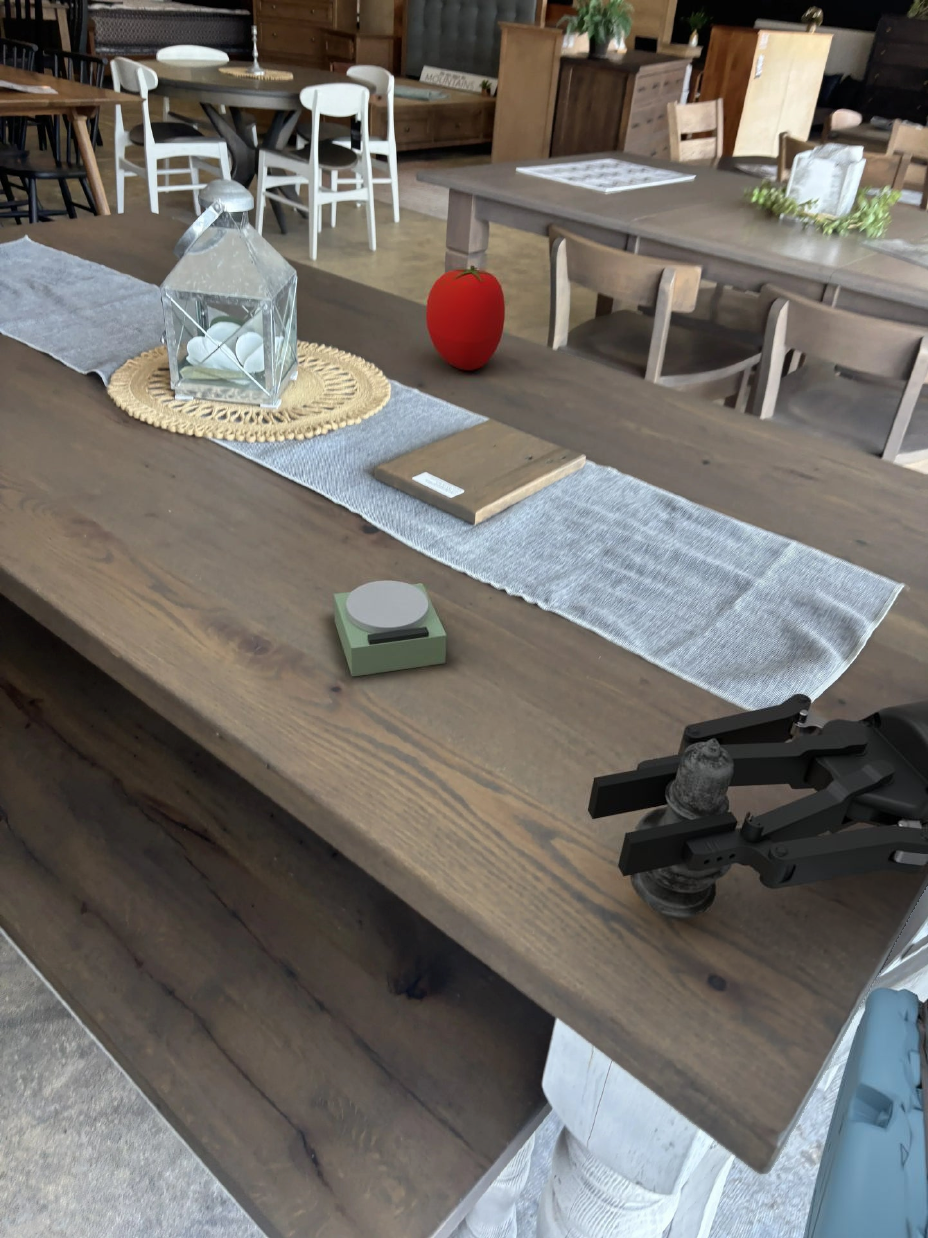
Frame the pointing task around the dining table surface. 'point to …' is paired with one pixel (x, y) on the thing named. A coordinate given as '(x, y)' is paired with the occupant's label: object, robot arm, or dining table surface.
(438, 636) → the scale
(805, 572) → the dining table surface
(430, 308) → the tomato
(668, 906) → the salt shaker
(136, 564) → the dining table surface
